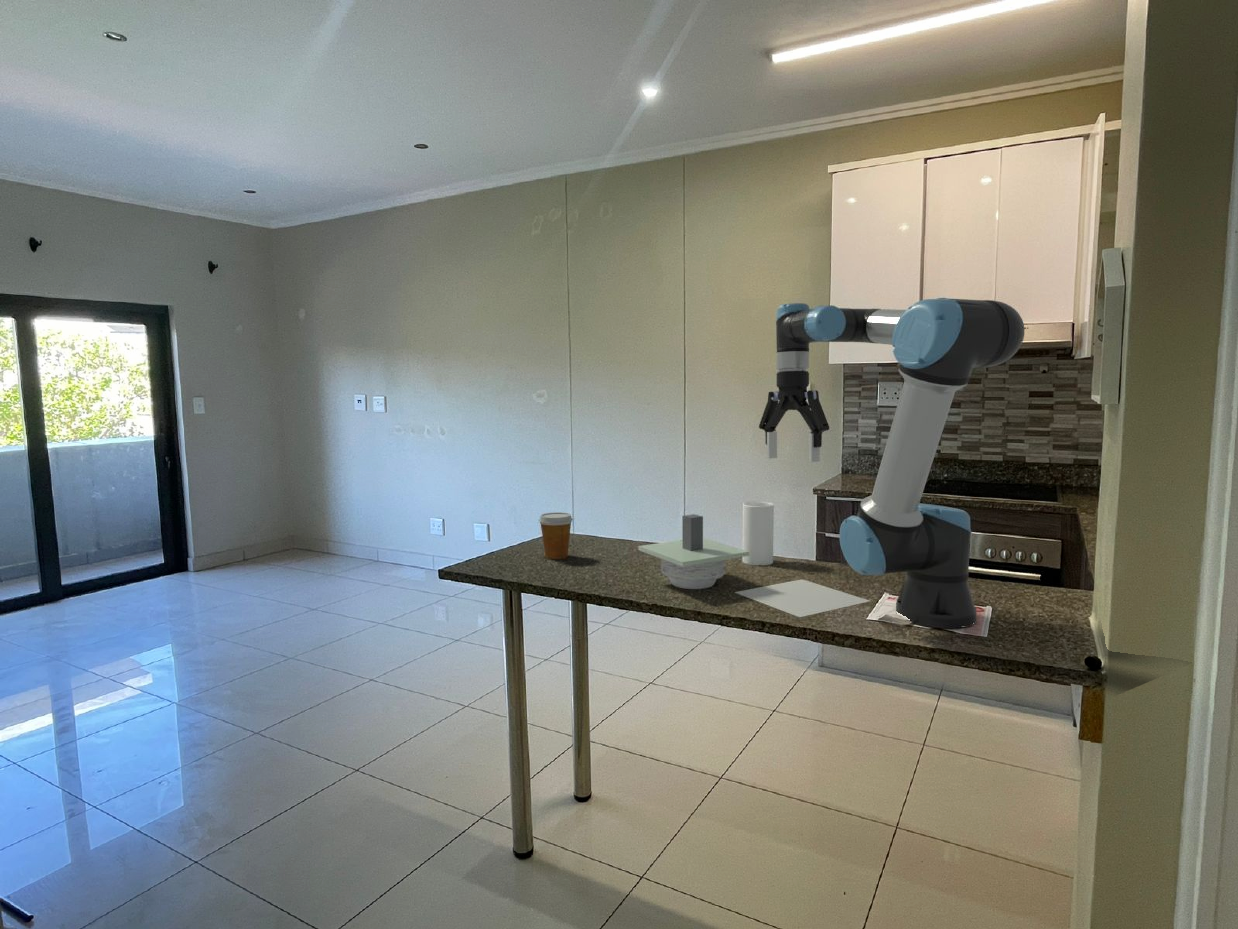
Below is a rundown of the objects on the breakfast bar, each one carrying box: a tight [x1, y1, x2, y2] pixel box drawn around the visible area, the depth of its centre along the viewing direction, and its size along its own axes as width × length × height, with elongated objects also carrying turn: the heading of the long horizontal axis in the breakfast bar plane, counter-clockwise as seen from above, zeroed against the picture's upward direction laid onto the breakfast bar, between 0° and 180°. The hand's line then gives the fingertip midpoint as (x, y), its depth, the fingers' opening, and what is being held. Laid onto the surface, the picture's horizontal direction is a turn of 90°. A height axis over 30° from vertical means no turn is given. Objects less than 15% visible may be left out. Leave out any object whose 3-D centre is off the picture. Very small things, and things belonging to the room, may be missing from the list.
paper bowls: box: [660, 558, 725, 590], centre depth 172 cm, size 15×15×8 cm
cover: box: [637, 514, 749, 566], centre depth 171 cm, size 19×19×9 cm
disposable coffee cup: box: [538, 512, 573, 560], centre depth 202 cm, size 10×10×12 cm
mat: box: [734, 579, 871, 618], centre depth 161 cm, size 21×21×1 cm
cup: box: [741, 501, 775, 566], centre depth 193 cm, size 8×8×16 cm
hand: (792, 460), depth 171 cm, fingers open, 13 cm apart
